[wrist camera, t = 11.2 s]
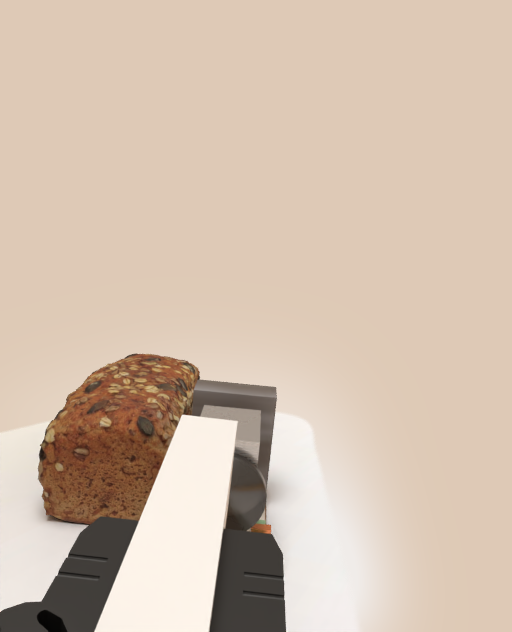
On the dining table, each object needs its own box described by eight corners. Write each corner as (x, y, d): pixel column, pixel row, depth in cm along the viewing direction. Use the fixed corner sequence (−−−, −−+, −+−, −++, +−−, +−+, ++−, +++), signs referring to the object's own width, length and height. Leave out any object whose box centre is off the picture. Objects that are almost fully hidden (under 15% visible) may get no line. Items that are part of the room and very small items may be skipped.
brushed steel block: (270, 568, 32) (284, 450, 30) (172, 558, 32) (180, 440, 30) (269, 514, 38) (281, 412, 36) (186, 506, 38) (193, 403, 36)
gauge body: (262, 758, 22) (285, 578, 20) (116, 744, 22) (123, 562, 20) (264, 488, 44) (276, 387, 41) (190, 481, 44) (197, 379, 41)
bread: (166, 537, 36) (173, 420, 34) (30, 524, 36) (28, 406, 34) (199, 428, 55) (205, 347, 52) (108, 419, 55) (110, 337, 52)
